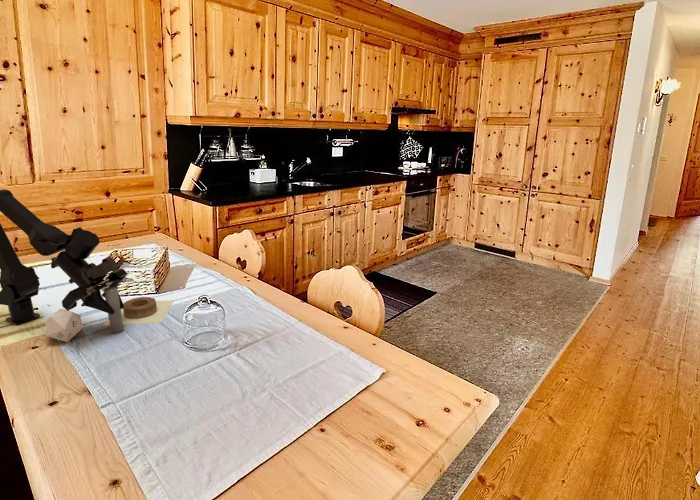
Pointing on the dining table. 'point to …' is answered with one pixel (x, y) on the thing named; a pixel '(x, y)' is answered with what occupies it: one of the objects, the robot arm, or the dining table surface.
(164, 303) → the mat
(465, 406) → the dining table surface
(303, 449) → the dining table surface
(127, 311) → the bead
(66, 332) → the die
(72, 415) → the dining table surface
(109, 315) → the grey rounded peg
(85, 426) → the dining table surface
